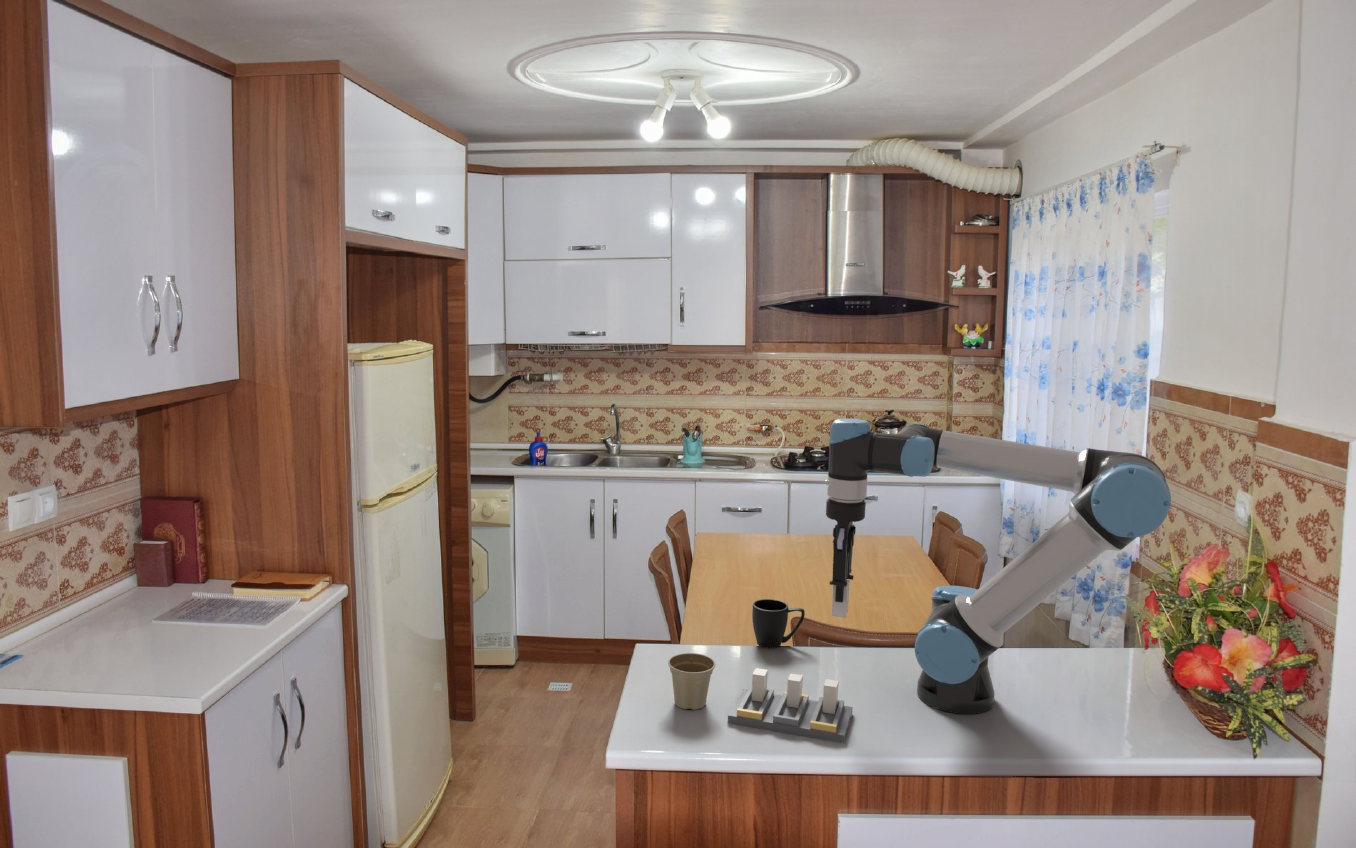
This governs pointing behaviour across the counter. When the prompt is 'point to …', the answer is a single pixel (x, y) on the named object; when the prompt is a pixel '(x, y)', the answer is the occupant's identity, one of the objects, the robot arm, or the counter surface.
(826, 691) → the tab
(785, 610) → the mug
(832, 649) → the counter surface
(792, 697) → the tab
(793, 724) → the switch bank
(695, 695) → the flower pot
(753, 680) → the tab
